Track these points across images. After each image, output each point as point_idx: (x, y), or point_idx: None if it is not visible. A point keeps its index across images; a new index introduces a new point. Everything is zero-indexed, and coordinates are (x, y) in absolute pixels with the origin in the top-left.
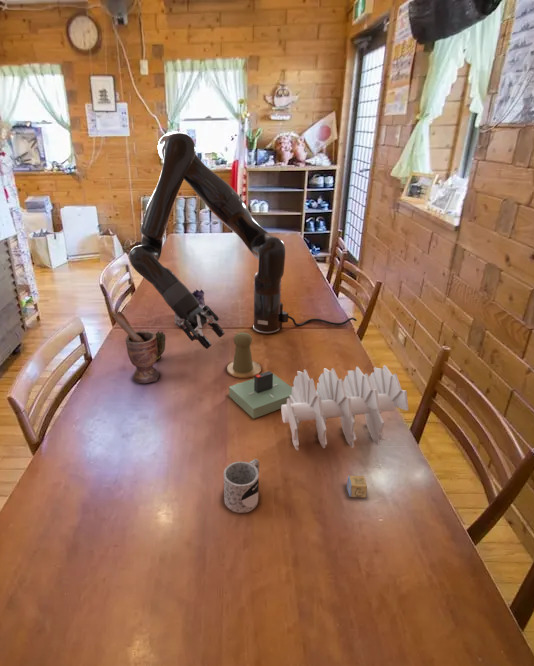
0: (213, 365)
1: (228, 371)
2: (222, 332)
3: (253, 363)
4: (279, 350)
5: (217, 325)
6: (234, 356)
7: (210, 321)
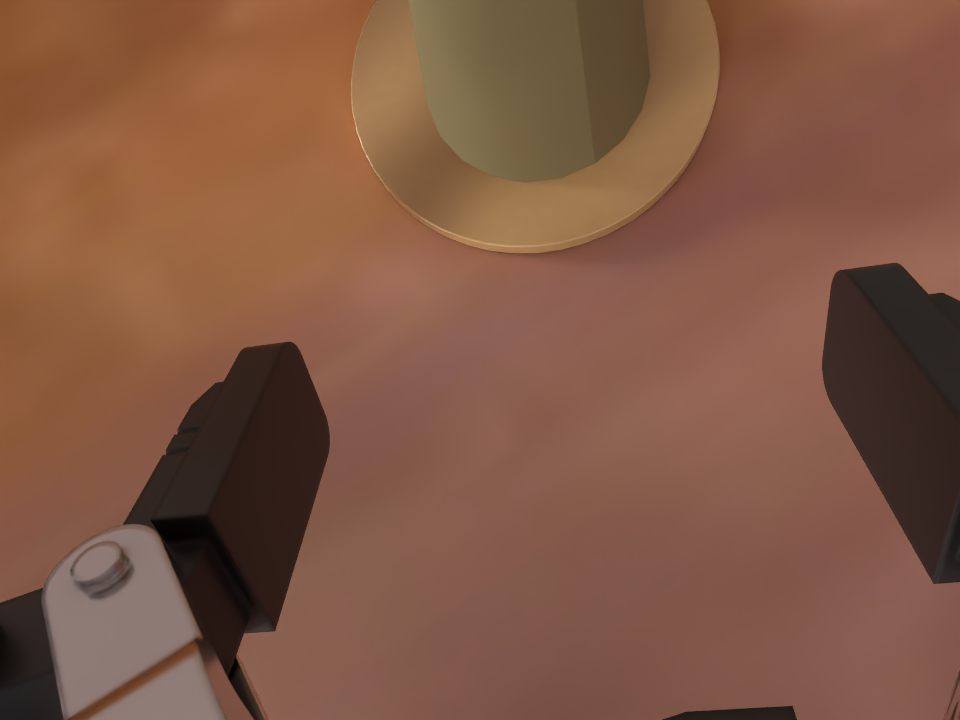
0: (628, 410)
1: (687, 161)
2: (280, 358)
3: (398, 37)
4: (23, 9)
5: (191, 491)
6: (595, 52)
7: (227, 681)
